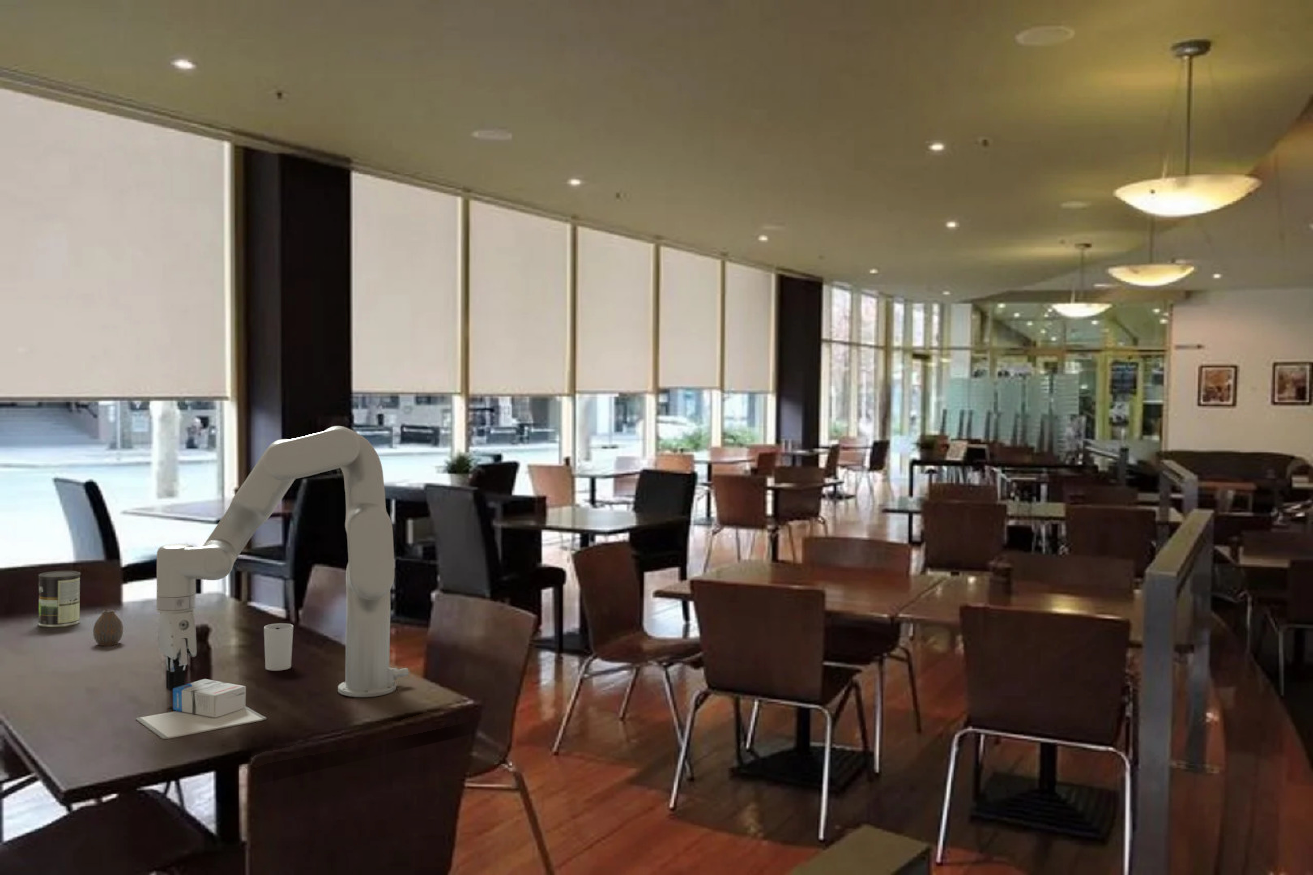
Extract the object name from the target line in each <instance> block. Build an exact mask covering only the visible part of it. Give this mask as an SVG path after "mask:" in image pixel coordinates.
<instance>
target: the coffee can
mask: <svg viewBox="0 0 1313 875" xmlns="http://www.w3.org/2000/svg"><path fill="white" fill-rule="evenodd" d="M80 580H81V572H80V571H77V570H76V571H75V570H56V571H55V570H53V571H45V572H41V573H39V574H38V626H39V627H43V628H61V627H69V626H75V625H78V624H80V622H81V620H80V617H81V616H80V615H81V614H80V596H81V594H80V592H81V581H80Z"/></svg>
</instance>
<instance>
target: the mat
mask: <svg viewBox="0 0 1313 875" xmlns="http://www.w3.org/2000/svg"><path fill="white" fill-rule="evenodd" d="M135 720H136V721H137V722H139V724H141V725H142V726H144V727H145V728H146V729H148V730H149V731H151V732H152V733H153V734H155V735H156V736H158V737H159V738H161V739H162V740H168V739H174V738H178V737H179V738H180V737H183V736H190V735H194V734H199V733H204V732H210V731H214V730H219V729H220V730H221V729H225V728H231V727H235V726H240V725H246V724H251V723H255V722H256V723H257V722H261V721H266V720H267V717H266V716H264V715H261V714H260V713H258V712H257V711H255V710H254V709H252V708H250V707H248V706H246V705H245V708H244V709H241V710H238V711H235V712H232V713H229V714H226V715H222V716H219V717H216V718H213V717H208V716H203V715H197V714H192V713H187V712H181V711H175V710H173V711H168V712H164V713H158V714H152V715H147V716H141V717H136V718H135Z"/></svg>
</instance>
